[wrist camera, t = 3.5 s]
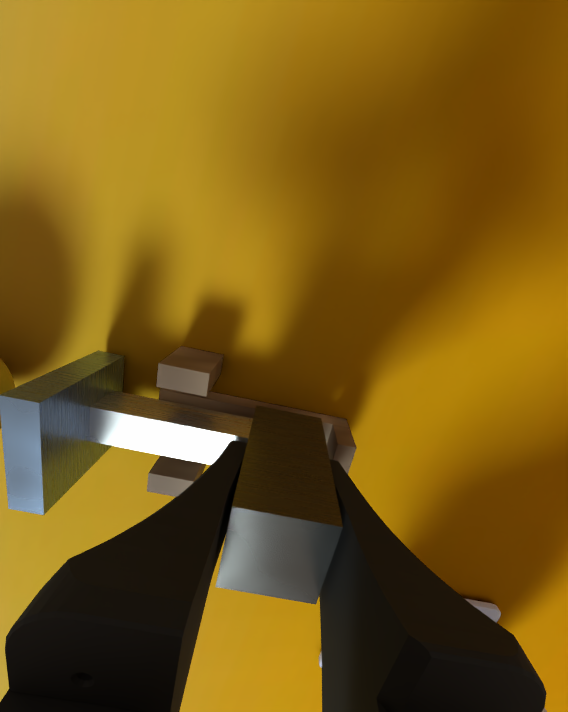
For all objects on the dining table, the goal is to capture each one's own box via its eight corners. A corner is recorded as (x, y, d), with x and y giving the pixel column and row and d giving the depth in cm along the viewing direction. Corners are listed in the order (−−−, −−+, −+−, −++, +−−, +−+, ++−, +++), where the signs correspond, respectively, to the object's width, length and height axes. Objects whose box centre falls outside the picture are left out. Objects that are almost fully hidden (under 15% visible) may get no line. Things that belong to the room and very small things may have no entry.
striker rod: (323, 397, 14) (350, 506, 8) (302, 472, 15) (310, 620, 9) (98, 350, 13) (-72, 426, 7) (96, 432, 15) (-49, 557, 8)
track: (357, 382, 14) (371, 406, 12) (325, 486, 16) (331, 525, 14) (170, 343, 14) (145, 360, 11) (159, 454, 16) (135, 489, 13)
